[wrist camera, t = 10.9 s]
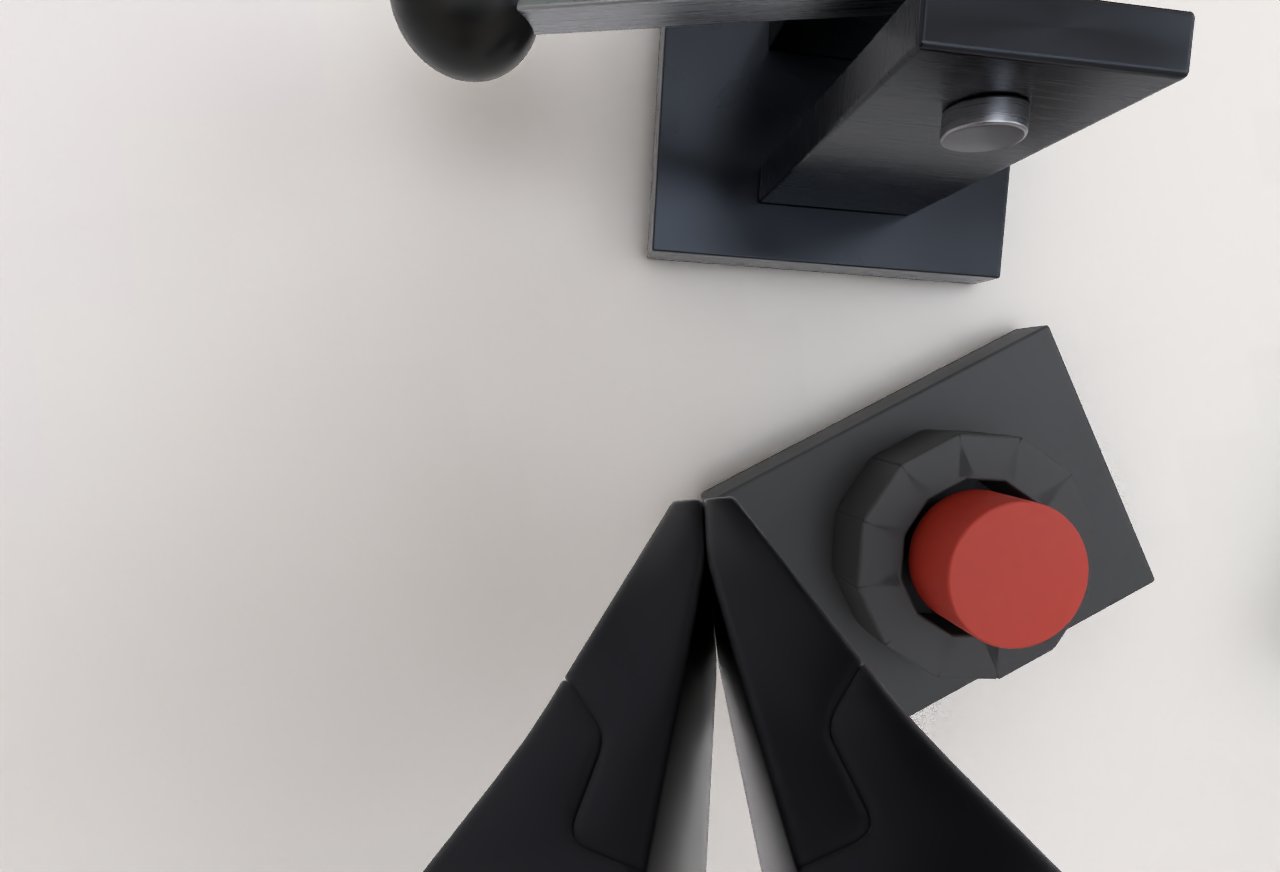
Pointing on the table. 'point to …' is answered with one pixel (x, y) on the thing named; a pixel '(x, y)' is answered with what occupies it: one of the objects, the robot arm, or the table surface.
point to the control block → (919, 478)
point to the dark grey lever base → (884, 128)
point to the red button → (999, 567)
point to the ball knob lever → (576, 24)
